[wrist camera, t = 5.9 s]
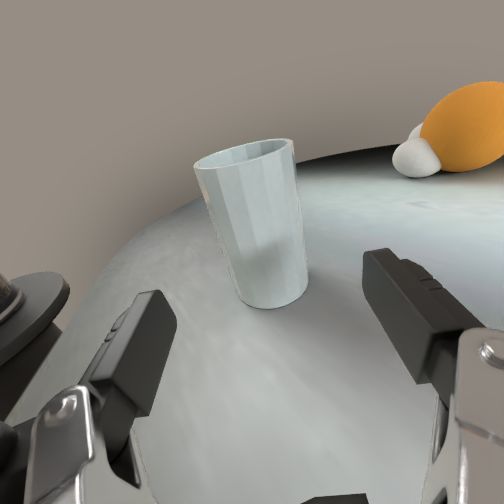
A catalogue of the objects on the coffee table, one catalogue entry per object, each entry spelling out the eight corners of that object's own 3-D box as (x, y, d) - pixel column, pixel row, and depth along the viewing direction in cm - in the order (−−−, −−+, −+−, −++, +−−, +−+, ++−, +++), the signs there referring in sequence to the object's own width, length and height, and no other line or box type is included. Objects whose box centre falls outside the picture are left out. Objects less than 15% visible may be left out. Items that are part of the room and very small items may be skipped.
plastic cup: (240, 318, 16) (189, 176, 11) (234, 270, 21) (196, 157, 16) (320, 296, 17) (307, 145, 11) (295, 253, 21) (277, 135, 16)
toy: (515, 169, 30) (390, 148, 35) (595, 79, 23) (425, 67, 28) (535, 211, 25) (384, 180, 29) (649, 110, 18) (426, 89, 22)
